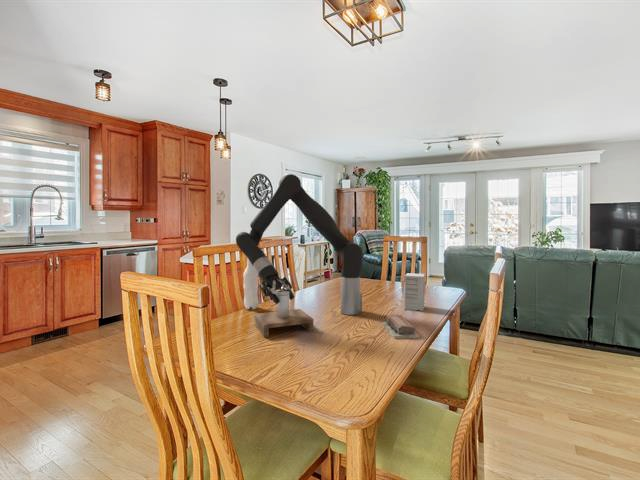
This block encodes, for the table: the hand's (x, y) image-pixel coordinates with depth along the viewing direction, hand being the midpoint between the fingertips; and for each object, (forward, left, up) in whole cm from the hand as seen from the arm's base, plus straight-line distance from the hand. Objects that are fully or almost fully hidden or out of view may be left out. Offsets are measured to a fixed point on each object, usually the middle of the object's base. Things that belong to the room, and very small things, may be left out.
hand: (285, 300), depth 143 cm
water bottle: (+7, -37, -12) cm, 40 cm away
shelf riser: (+1, -1, -12) cm, 12 cm away
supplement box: (-68, -6, -12) cm, 70 cm away
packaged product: (-41, +20, -12) cm, 47 cm away
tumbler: (+1, -1, -7) cm, 7 cm away
